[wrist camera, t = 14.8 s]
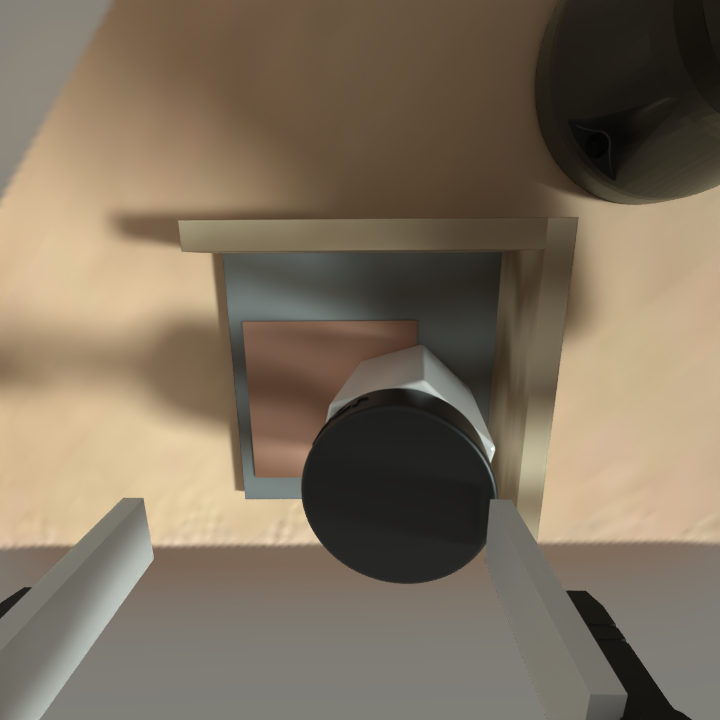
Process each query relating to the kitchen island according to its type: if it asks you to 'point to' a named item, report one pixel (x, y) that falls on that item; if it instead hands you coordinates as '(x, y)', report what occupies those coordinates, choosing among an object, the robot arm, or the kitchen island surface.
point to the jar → (401, 471)
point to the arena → (392, 328)
